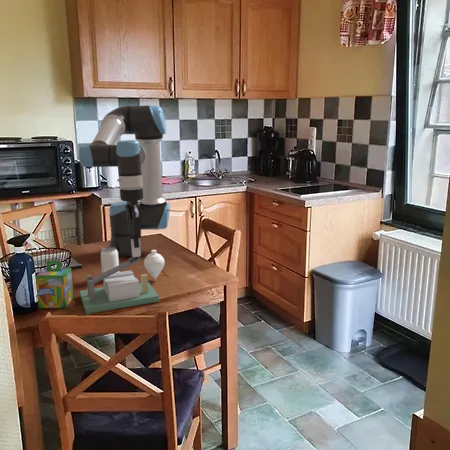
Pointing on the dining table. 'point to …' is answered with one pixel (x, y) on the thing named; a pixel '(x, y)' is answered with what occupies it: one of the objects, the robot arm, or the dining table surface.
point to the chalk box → (54, 286)
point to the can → (109, 258)
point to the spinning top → (154, 263)
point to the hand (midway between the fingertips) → (136, 255)
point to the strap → (116, 269)
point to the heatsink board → (117, 304)
